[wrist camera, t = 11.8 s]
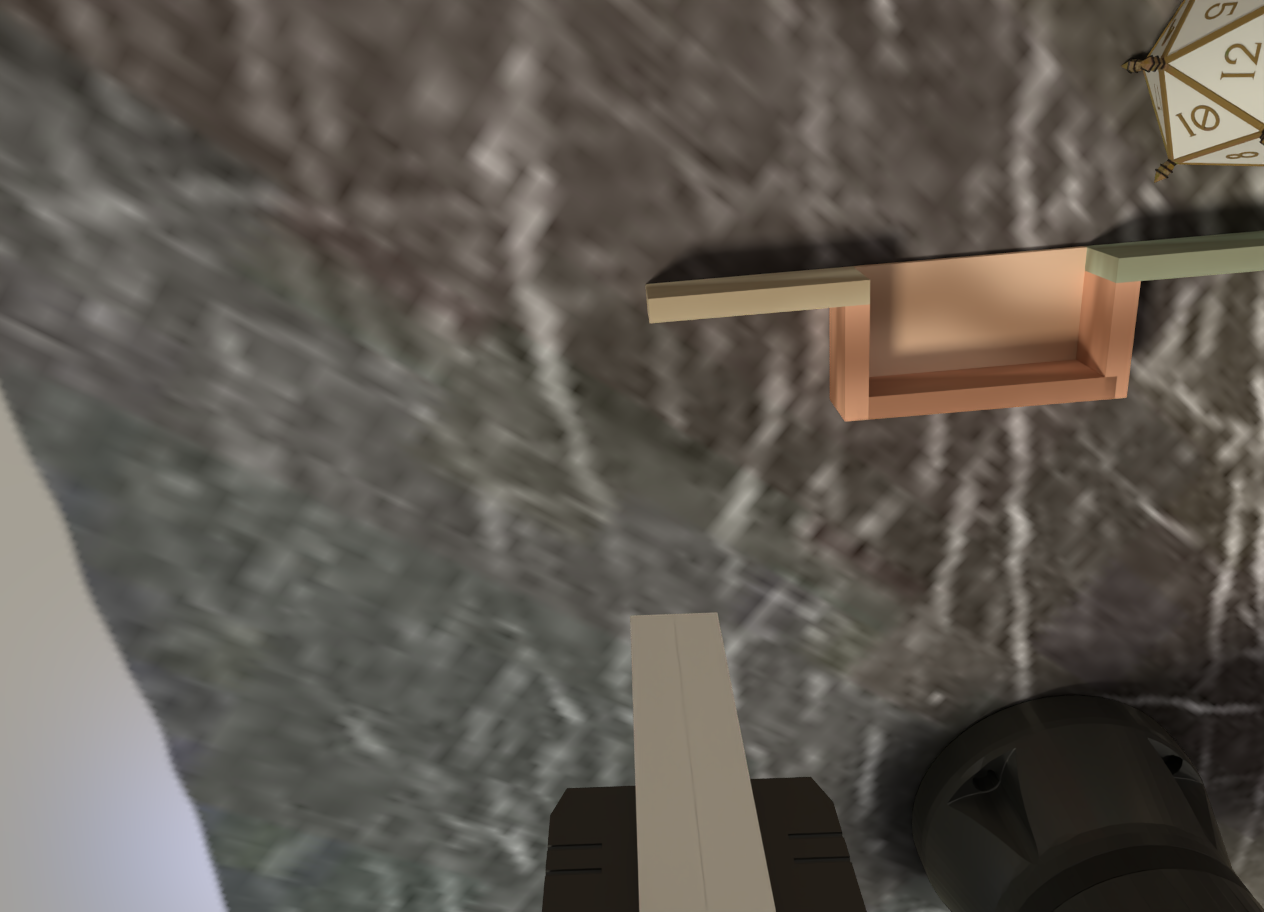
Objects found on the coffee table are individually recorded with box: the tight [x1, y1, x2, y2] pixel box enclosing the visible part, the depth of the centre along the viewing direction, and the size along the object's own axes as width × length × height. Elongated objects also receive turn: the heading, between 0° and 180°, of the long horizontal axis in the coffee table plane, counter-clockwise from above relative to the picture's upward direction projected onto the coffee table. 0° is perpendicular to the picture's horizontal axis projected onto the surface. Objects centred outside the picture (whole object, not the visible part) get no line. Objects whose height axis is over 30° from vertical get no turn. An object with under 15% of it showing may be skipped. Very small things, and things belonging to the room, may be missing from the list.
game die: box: [1122, 0, 1264, 183], centre depth 34 cm, size 9×8×10 cm
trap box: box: [646, 231, 1264, 421], centre depth 35 cm, size 25×31×6 cm
